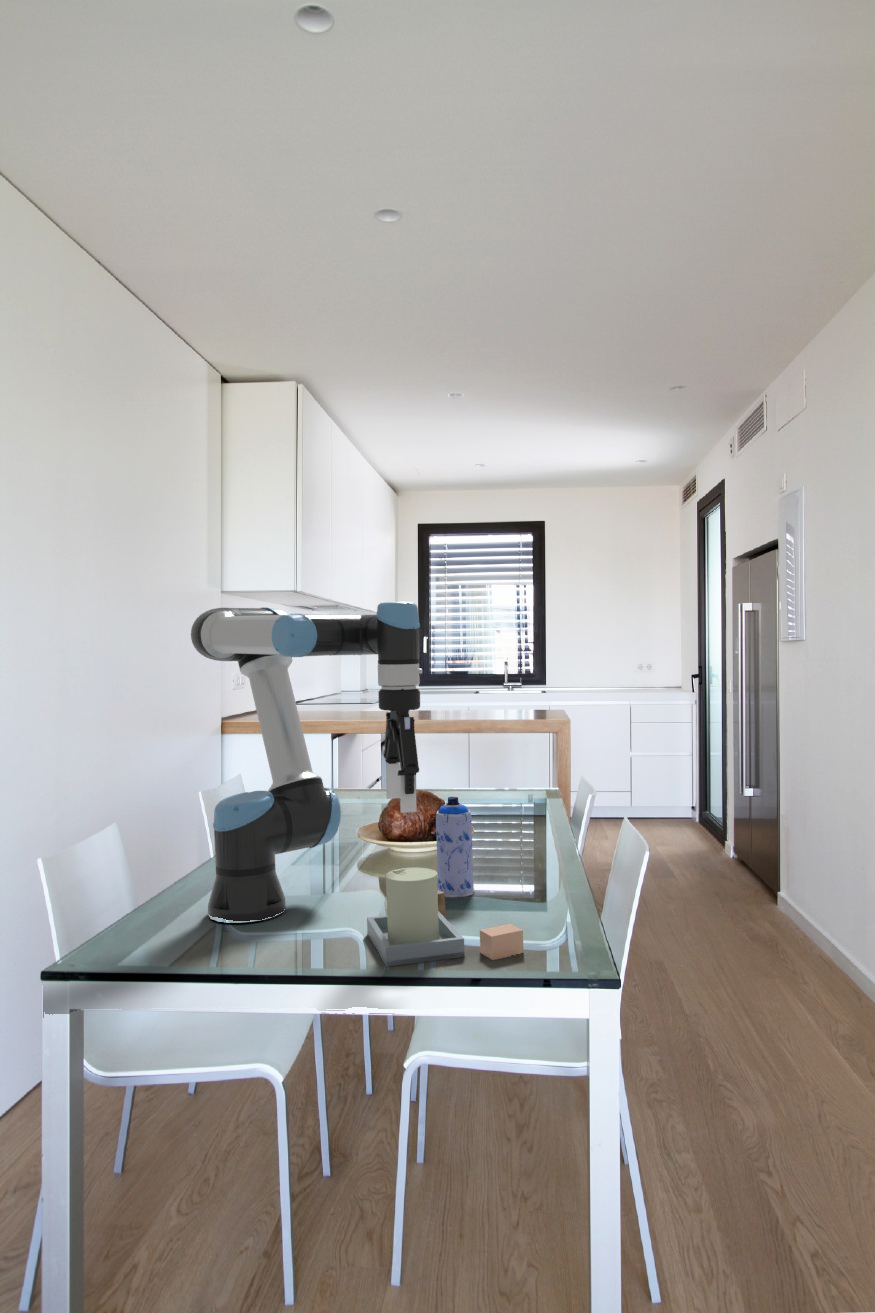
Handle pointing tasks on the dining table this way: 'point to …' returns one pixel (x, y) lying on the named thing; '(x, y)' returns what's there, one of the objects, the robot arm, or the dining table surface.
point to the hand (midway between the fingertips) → (400, 805)
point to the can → (412, 905)
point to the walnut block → (441, 902)
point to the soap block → (501, 941)
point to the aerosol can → (454, 849)
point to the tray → (415, 944)
